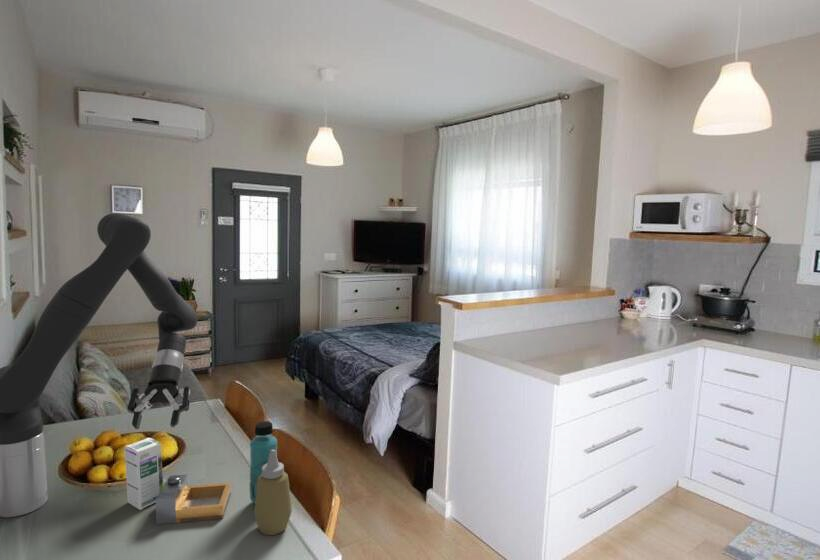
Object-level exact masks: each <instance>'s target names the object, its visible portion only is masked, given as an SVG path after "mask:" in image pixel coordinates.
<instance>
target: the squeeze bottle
mask: <svg viewBox="0 0 820 560" xmlns="http://www.w3.org/2000/svg"><path fill="white" fill-rule="evenodd" d="M291 499H292V498H291V489H290V482H289V475H288V473H287V472H285V465H284V463H282V462H279V460H278V453H277V454H276V450H270V454H269V458H268V463H266V464H265V465H263V467H262V474H261V475H260V476H259V478H258V481H257V491H256V501H255V503H254V504H255V505H254V512H253V513H254V514H253V515H254V520H255V522H256V524H257V527H258V530H259V532H260V533H262V534H263V535H265V536H274V535H279V534H281V533H283V531H285V530H286V529H287V526H288V523H289V520H290V518H291V515H292V511H293V510H292V509H293V507H292V500H291Z"/></svg>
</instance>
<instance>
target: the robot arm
mask: <svg viewBox="0 0 820 560" xmlns="http://www.w3.org/2000/svg"><path fill="white" fill-rule="evenodd" d="M96 231H97V235H98V238H99V240H100V241H101V242H102V244H104V245H105V247H104V249H103V250H102V252H101V253H100V254H99V256H98V257H97V259H96V260H94V261H93V262H92V263H91V264H90V265H89V266H88V267H86V268H85V269H83V270H82V271H80V272H79V273H77V274H76V275H74V276H73V277H71V278H70V279H68V280H67V281H66V282H65V283H64V284H63V285H62V286H61V287H60V288H59V289H58V290H57V292H56V293H55V294H54V296H53V297H52V298H51V300H49V302H48V304H47V305H46V306H45V308H44V310H43V311H42V313H41V315H40V317H39V319H38V321H37V324H36V325H35V328H34V329H33V332H32V335H31V338H30V340H29V341H28V343H27V345H26V347H24V350H23V351H22V352H21V353H20V355H19V356H18V358H17V359H16V360H15V361H14V362H13V364H10V365H9V364H8V365H5V366H3V367H0V517H1V518H15V517H20V516H23V515H27V514H29V513H33V512H34V511H36V510H38V509H40V508H41V507H43V506H44V505H45V504H46V503H47V501H48V488H47V483H48V482H47V470H46V454H45V438H44V424H43V417H42V413H41V412H42V411H41V407H40V397H41V396H42V394H43V392H44V391H45V389H46V387H47V385H48V383H49V381H50V379H51V378H52V376H53V374H54V373H55V371H56V368H57V367H58V366H59V364H60V362H61V361H62V360H63V358H64V356H65V355H66V354H67V352H68V351H69V350H70V349H71V348H72V346H73V345H74V344H75V343H76V341H77V340H78V338H79V337H80V336H81V334H82V333H83V331H84V330H85V329H86V328H87V326H88V325H89V323H90V322H91V321H92V320H93V318H94V317H95V315H96V314H97V313H98V310H100V307H101V306H102V304H103V303H104V302H105V300H106V298H107V297H108V296H109V295H110V293H111V292H112V290H113V289H114V287H115V286H116V285H117V283H118V282H119V281H120V279H121V278H122V277H123V276H124V274H125V273H126V272H127V270H128V272H129V273H130V274H131V275H132V277H133V278H134V280H135V281H136V282H137V284H138V285H139V286H140V289H141V290H142V291H143V293H144V294H145V296H146V298H147V300H148V301H149V302H150V304H151V305H152V307H153V308H154V309H155V310H156V311H159V312H160V313H159V314H158V317H157V320H156V322H157V323H156V324H157V331H158V345H157V350H156V354H155V357H154V358H153V362H152V365H151V369H150V374H149V378H148V382H147V387H146V388H145V389H139V388H137V387H135V388H134V389H132V392H131V394H130V395H131V396H130V399H129V402H128V405H127V411H128V412H129V413H130V414H131V415H132V414H133V417H132V420H131V421H132V422H131V425H132V427H133V428H134V429H135V430H140V427H141V423H142V417H143V413H145V412H146V411H147V410H149V409H150V408H151V407H152V406H153V407H160V406H162V407H167V406H168V405H170V406H171V407H172V409H173V410H172V414H171V419H170V423H169V425H170V427H171V428H176V426H177V425H179V422H180V416H181V413H182V412H183V413H184V412H187V411H189V409H190V402H191V394H192V393H191V389H190V387H189V386H188V385H187V386H185V387H184V388H179V387H180V382H181V377H182V372H183V369H184V358H185V357H184V356H185V352H186V348H187V347H186V346H187V338H186V337H185V336H184V335H182V334H180V333H179V332H185V331H191V330H193V329H195V328H196V326H197V324H198V320H199V319H198V314H197V312H196V310H195V309H194V307H193V306H192V305H191V304H189V303H188V302H187V301H186V300H185V299H184V298H183V297H182V296H180V295H179V294H178V293H177V291H176V289H175V288H174V286H173V284H172V282H171V281H170V280H169V278H168V277H167V275H165V273H164V272H163V271H162V270H161V268H159V267H158V265H157V264H156V263H155V262H154V261H152V259H151V258H150V257H149V256H148V254H147V253H146V251H145V250H146V248H147V247H148V244H149V243H150V240H151V236H152V235H151V233H152V232H151V229H150V227H149V224H147V222H145V221H144V220H142V219H139V218H136V217H134V216H130V215H128V214H125V213H119V212H115V213H114V212H111V213H108V214H106V215H104V216H102V218H101V219H100V220H99V222H98V224H97V229H96ZM179 395H181V397H182V404H180V405H179V404H178V403H177V402H176V400H175V399H176V398H177V397H179ZM143 396H145V397H144V398H143V399H142V397H143ZM141 399H142V400H141ZM140 400H141V402H140V404H138V403H139V401H140Z"/></svg>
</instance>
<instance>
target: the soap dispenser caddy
mask: <svg viewBox="0 0 820 560" xmlns="http://www.w3.org/2000/svg"><path fill="white" fill-rule="evenodd" d="M231 486H232V484H231V482H223V483H209V484H196V485H188V473H187V474H172V475H168V477H167V479H166V481H165V482H164V483H163V488H162V489H161V491H160V493H159V494H158V496H157V498H156V503H155V519H156V523H155V524H156V525H167V524H168V525H169V524H177V523H190V522H200V521H202V522H203V521H212V520H214V521H215V520H222V519H224V517H225V514H226V511H227V507H228V504H229V501H230V498H231V495H232V492H231V491H232V487H231Z"/></svg>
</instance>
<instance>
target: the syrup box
mask: <svg viewBox="0 0 820 560" xmlns="http://www.w3.org/2000/svg"><path fill="white" fill-rule="evenodd" d="M162 454H163V453H162V443H161V442H160V441H158V440H156V439H154V438H152V437H147V438H144V439H142V440H139V441H136V442H133V443H131V444H126V445H125V446H124V459H125V475H126V477H125V478H126V492H127V494H126V495H127V496H126V497H127V503H128V504H130V505H131V506H133V507H134V508H136V509H137V510H139V511H142V510H144V509H145V508H147V507H149V506H151V505H153V504H156V498H157V496H158V494H159V493H160V491H161V489H162V488H163V486H164V483H163V482H164V481H163V480H164V479H163V461H162V460H163V459H162V458H163V457H162V456H163V455H162Z"/></svg>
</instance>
